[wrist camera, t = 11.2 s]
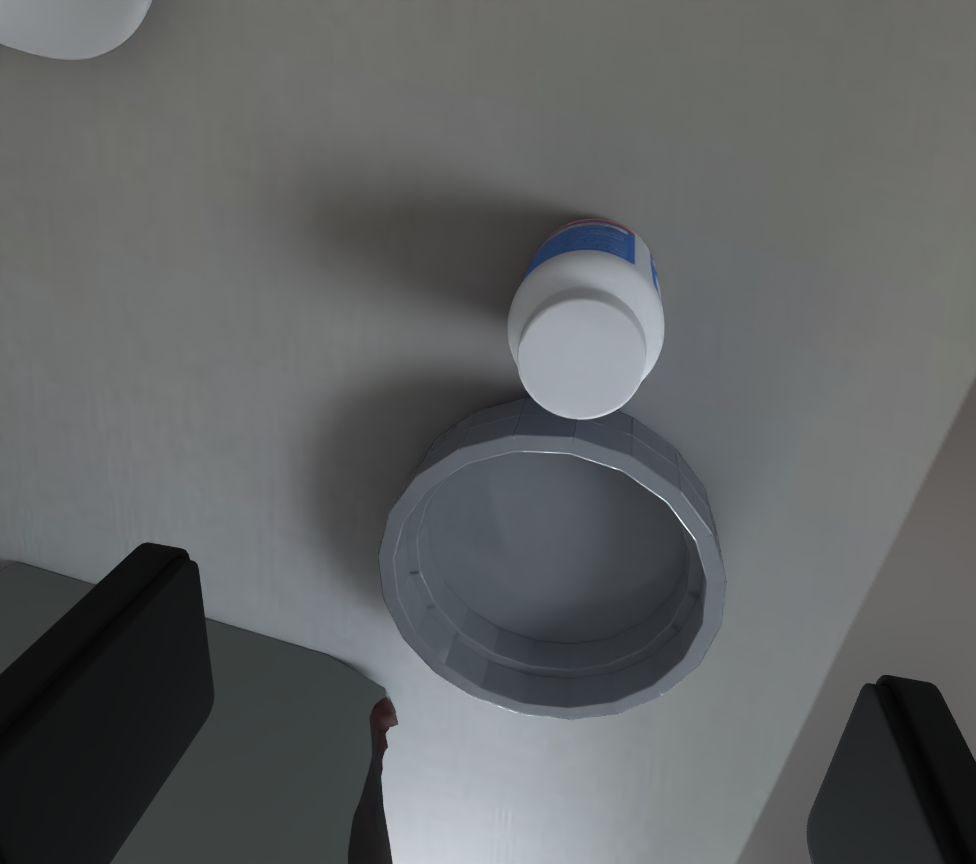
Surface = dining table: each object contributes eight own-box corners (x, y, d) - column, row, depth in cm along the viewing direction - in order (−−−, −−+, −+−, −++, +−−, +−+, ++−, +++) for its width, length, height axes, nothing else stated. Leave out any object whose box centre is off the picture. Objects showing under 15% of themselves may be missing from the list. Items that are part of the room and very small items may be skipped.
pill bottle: (504, 279, 31) (455, 353, 23) (595, 188, 29) (580, 231, 20) (590, 366, 32) (574, 469, 24) (685, 285, 30) (706, 365, 22)
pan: (667, 354, 32) (673, 393, 28) (745, 630, 37) (759, 696, 33) (358, 439, 36) (325, 483, 32) (468, 673, 42) (450, 735, 38)
